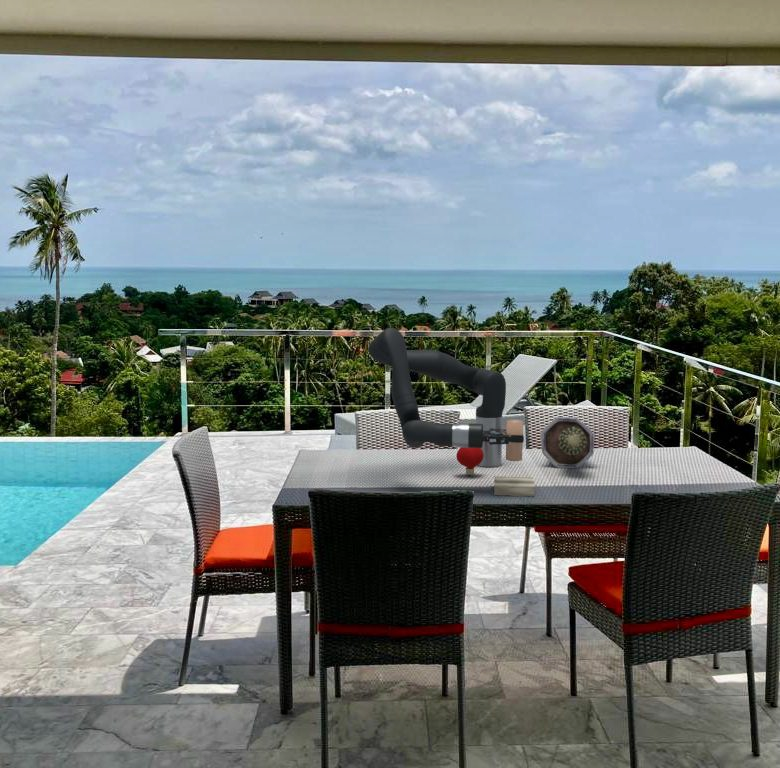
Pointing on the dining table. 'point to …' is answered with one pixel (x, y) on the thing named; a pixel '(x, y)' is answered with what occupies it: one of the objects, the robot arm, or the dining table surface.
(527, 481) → the base slab
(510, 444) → the tall pink cylinder
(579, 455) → the potted plant
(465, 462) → the red heart
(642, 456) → the dining table surface
